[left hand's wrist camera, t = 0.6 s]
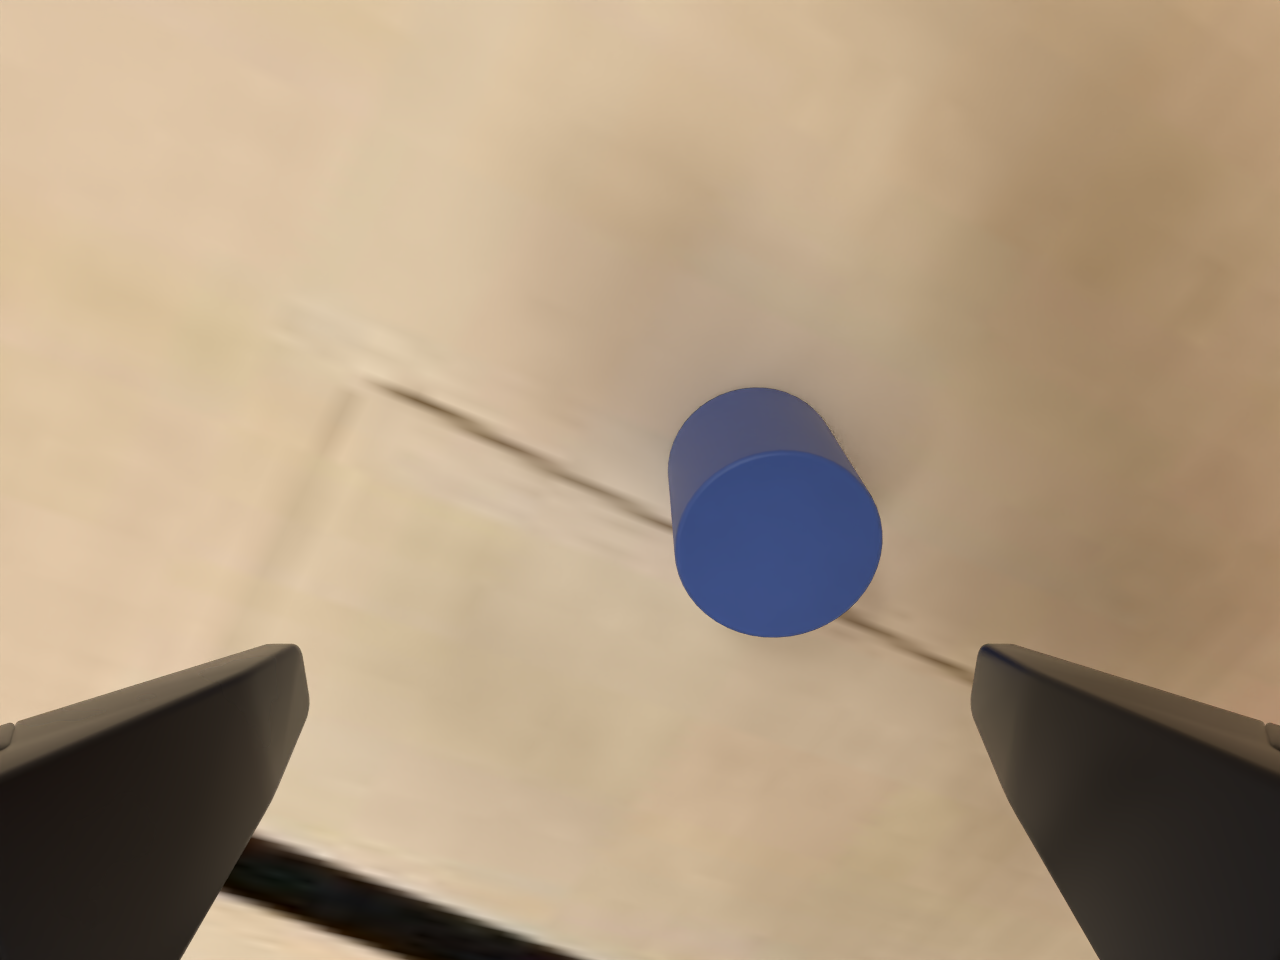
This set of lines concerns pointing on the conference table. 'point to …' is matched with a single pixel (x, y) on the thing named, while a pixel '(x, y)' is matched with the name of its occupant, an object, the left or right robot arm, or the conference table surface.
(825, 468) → the cylinder
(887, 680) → the conference table surface
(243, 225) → the conference table surface
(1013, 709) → the left robot arm
